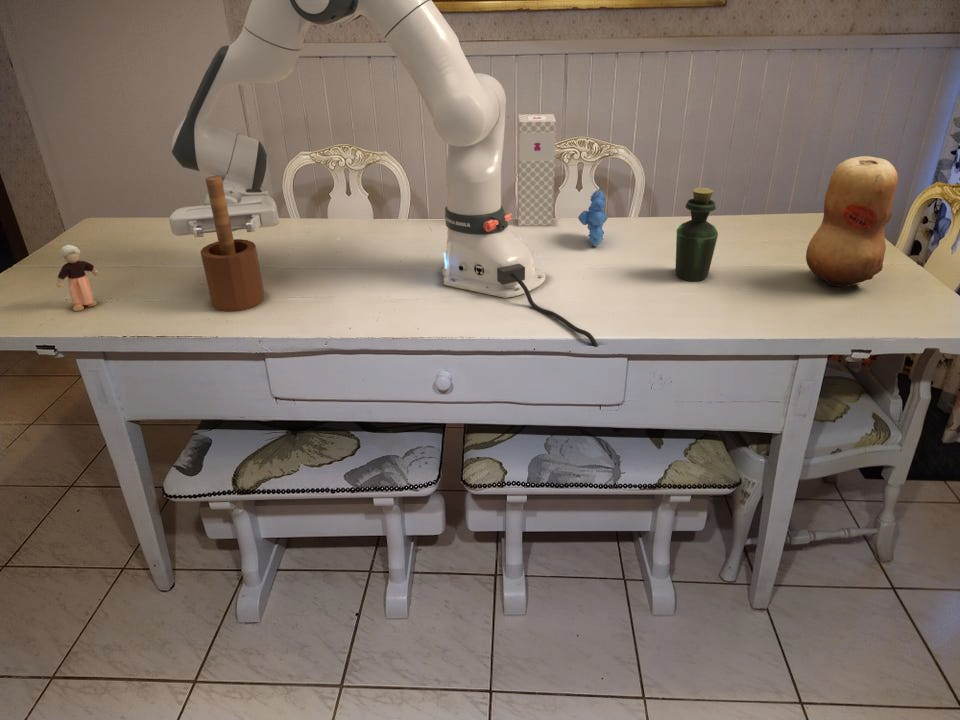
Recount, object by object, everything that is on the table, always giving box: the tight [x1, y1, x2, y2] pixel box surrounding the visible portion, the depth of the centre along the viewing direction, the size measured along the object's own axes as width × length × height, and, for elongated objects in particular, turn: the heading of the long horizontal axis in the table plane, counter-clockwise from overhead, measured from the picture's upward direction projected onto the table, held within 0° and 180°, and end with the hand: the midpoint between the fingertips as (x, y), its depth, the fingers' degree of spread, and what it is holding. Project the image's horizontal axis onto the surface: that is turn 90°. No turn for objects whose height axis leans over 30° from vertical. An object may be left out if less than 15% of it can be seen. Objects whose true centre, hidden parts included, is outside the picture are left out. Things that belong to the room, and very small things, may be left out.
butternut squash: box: [805, 155, 899, 288], centre depth 141 cm, size 14×13×25 cm
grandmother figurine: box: [56, 244, 99, 312], centre depth 141 cm, size 8×4×13 cm, turn 148°
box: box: [516, 113, 557, 227], centre depth 178 cm, size 8×8×25 cm
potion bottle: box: [675, 187, 719, 282], centre depth 147 cm, size 8×8×18 cm
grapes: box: [577, 189, 608, 247], centre depth 167 cm, size 12×7×12 cm, turn 173°
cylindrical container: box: [200, 238, 265, 312], centre depth 142 cm, size 10×10×11 cm
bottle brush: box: [205, 175, 236, 255], centre depth 139 cm, size 5×5×24 cm
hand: (224, 230), depth 137 cm, fingers open, 8 cm apart
